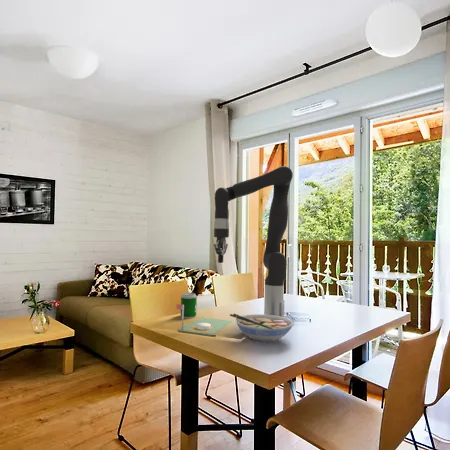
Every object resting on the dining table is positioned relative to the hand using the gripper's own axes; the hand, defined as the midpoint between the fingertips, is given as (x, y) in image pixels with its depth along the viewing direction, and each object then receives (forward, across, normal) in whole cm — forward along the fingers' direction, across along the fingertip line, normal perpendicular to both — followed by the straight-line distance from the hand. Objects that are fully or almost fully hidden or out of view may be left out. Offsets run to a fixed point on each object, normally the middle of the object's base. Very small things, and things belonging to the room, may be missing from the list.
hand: (220, 262), depth 175 cm
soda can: (+27, -10, +12) cm, 31 cm away
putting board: (+27, -21, -3) cm, 34 cm away
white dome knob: (+27, -26, -3) cm, 38 cm away
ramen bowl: (+27, -27, -30) cm, 49 cm away
